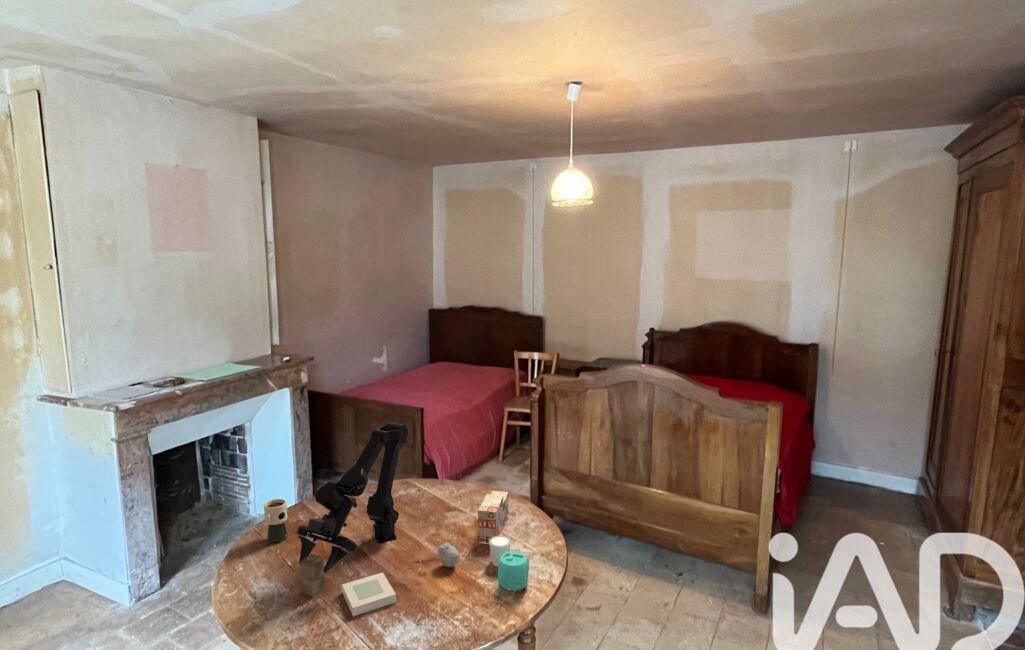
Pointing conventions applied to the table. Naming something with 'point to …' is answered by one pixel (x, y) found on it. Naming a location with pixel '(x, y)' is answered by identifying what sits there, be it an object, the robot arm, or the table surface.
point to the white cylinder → (499, 547)
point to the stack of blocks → (492, 515)
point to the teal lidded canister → (513, 570)
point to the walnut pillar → (312, 575)
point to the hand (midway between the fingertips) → (312, 568)
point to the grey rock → (448, 555)
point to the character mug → (276, 519)
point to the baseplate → (368, 594)
